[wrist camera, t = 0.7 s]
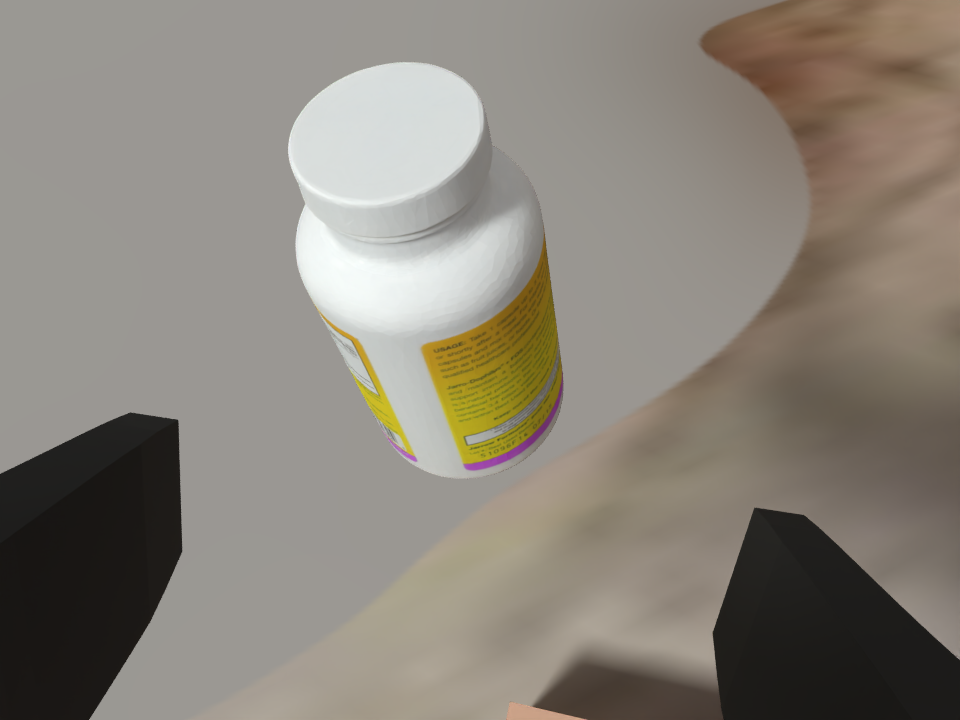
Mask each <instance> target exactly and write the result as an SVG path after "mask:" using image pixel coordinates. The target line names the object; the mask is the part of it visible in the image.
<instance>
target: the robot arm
mask: <svg viewBox="0 0 960 720" xmlns="http://www.w3.org/2000/svg"><path fill="white" fill-rule="evenodd" d="M178 427H179V426H178V420H176V419H169V418H162V417H156V416H149V415H143V414H136V413H128V414H126V415H123V416H120V417H118V418H116V419H113V420H111V421H109V422H106V423H105V424H102V425H100V426H98V427H96V428H94V429H92V430H89V431H87V432H85V433H83V434H81V435H79V436H77V437H75V438H73V439H71V440H69V441H67V442H65V443H63V444H61V445H59V446H57V447H55V448H53V449H51V450H49V451H47V452H45V453H42V454H40V455H38V456H36V457H34V458H32V459H30V460H29V461H26V462H24V463H22V464H20V465H18V466H16V467H14V468H12V469H9V470H7V471H5V472H4V473H1V474H0V720H89V719H90V717H91V716H92V714H93V713H94V711H95V709H96V708H97V706H98V705H99V703H100V702H101V700H102V698H103V697H104V695H105V694H106V692H107V691H108V689H109V687H110V686H111V684H112V683H113V681H114V679H115V678H116V676H117V675H118V673H119V672H120V670H121V668H122V667H123V665H124V663H125V662H126V660H127V659H128V657H129V655H130V654H131V652H132V651H133V649H134V647H135V646H136V644H137V643H138V641H139V639H140V638H141V636H142V634H143V633H144V631H145V629H146V628H147V626H148V624H149V623H150V621H151V619H152V617H153V615H154V612H155V610H156V608H157V606H158V604H159V602H160V600H161V598H162V595H163V594H164V592H165V589H166V587H167V585H168V583H169V580H170V578H171V576H172V574H173V571H174V569H175V566H176V564H177V562H178V560H179V558H180V555H181V553H182V531H181V530H182V528H181V496H180V495H181V494H180V462H179V461H180V460H179V428H178ZM713 641H714V650H715V660H716V669H717V678H718V686H719V693H720V701H721V708H722V713H723V717H724V720H960V660H959V659H958V658H957V657H956V656H955V655H953V654H952V653H951V652H950V651H949V650H948V649H947V648H946V647H945V646H943V645H942V644H941V643H940V642H939V641H938V640H937V639H936V638H935V637H934V636H932V635H931V634H930V633H929V632H928V631H927V630H926V629H925V628H924V627H923V626H922V625H921V624H919V623H918V622H917V621H916V620H915V619H914V618H913V617H912V616H911V615H910V614H909V613H908V612H907V611H906V610H905V609H904V608H902V607H901V606H900V605H899V604H898V603H897V602H896V601H895V600H894V599H893V598H892V597H891V596H890V595H889V594H888V593H887V592H886V591H885V590H884V589H883V588H882V587H881V586H880V585H878V584H877V583H876V582H875V581H874V580H873V579H872V578H871V577H870V576H869V575H868V574H867V573H866V572H865V571H864V570H863V569H862V568H861V567H860V566H859V565H858V564H857V563H856V562H855V561H854V560H853V559H852V558H851V557H850V556H848V555H847V554H846V553H845V552H844V551H843V550H842V549H841V548H840V547H839V546H838V545H837V544H836V543H835V542H834V541H833V540H832V539H831V538H830V537H828V536H827V535H826V534H825V533H824V532H823V531H822V530H821V529H820V528H819V527H817V526H816V525H815V524H814V523H813V522H812V521H810V520H809V519H808V518H807V517H806V516H804V515H800V514H793V513H787V512H780V511H773V510H767V509H760V508H754V511H753V514H752V517H751V520H750V523H749V526H748V529H747V532H746V535H745V538H744V541H743V544H742V547H741V550H740V553H739V556H738V559H737V562H736V565H735V568H734V571H733V574H732V577H731V580H730V583H729V586H728V589H727V592H726V595H725V598H724V601H723V604H722V607H721V610H720V613H719V616H718V619H717V622H716V625H715V628H714V631H713Z"/></svg>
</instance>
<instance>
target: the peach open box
mask: <svg viewBox="0 0 960 720" xmlns="http://www.w3.org/2000/svg"><path fill="white" fill-rule="evenodd" d="M506 720H586V719H582V718H577V717H573V716H569V715H565V714H560V713H556V712H552V711H548V710H543V709H539V708H535V707H531V706H526V705H522V704H518V703H514V702H510V704H509V709H508V713H507V718H506Z"/></svg>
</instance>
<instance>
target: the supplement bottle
mask: <svg viewBox="0 0 960 720" xmlns="http://www.w3.org/2000/svg"><path fill="white" fill-rule="evenodd" d="M288 153H289V154H288V155H289V161H290V165H291V168H292V171H293V173H294V176H295V178H296V180H297V182H298V185H299V187H300V190H301V193H302V196H303V199H304V201H305V203H306V204H305V207H304V209H303V211H302V214H301V216H300V219H299V223H298V227H297V234H296V258H297V264H298V269H299V272H300V275H301V278H302V281H303V283H304V285H305V287H306V289H307V291H308V293H309V295H310V297H311V299H312V301H313V303H314V305H315V307H316V308H317V310H318V312H319V314H320V315H321V318H322V320H323V321H324V323H325V324H326V326H327V328H328V330H329V332H330V334H331V336H332V337H333V340H334V341H335V343H336V345H337V347H338V349H339V350H340V352H341V354H342V356H343V358H344V360H345V362H346V364H347V365H348V368H349V370H350V371H351V373H352V375H353V377H354V379H355V381H356V383H357V385H358V386H359V388H360V391H361V393H362V394H363V396H364V398H365V400H366V402H367V403H368V405H369V407H370V409H371V411H372V413H373V415H374V417H375V418H376V420H377V422H378V424H379V426H380V428H381V429H382V431H383V433H384V434H385V436H386V437H387V439H388V440H389V442H390V443H391V445H392V446H393V447H394V448H395V449H396V450H397V452H398V453H399V454H400V455H402V457H404V458H405V459H406V460H407V461H409V462H410V463H411V464H413V465H415V466H416V467H418V468H420V469H422V470H424V471H427V472H429V473H432V474H435V475H438V476H443V477H448V478H459V479H468V478H469V479H471V478H480V477H485V476H489V475H493V474H496V473H499V472H502V471H504V470H507V469H509V468H510V467H512V466H515V465H516V464H518V463H520V462H521V461H523V460H524V459H525V458H527V457H528V456H529V455H531V453H533V452H534V451H535V450H536V449H537V448H538V447H539V446H540V445H541V444H542V442H543V441H544V440H545V439H546V437H547V436H548V434H549V433H550V432H551V430H552V428H553V426H554V424H555V423H556V420H557V417H558V415H559V412H560V408H561V403H562V398H563V373H562V365H561V357H560V350H559V342H558V334H557V326H556V318H555V311H554V304H553V297H552V289H551V281H550V273H549V266H548V258H547V250H546V241H545V234H544V226H543V220H542V214H541V209H540V205H539V201H538V198H537V195H536V193H535V191H534V189H533V186H532V184H531V182H530V181H529V179H528V177H527V176H526V175H525V173H524V172H523V171H522V169H521V168H520V167H519V166H518V165H517V164H516V163H515V162H514V161H513V160H512V159H511V158H510V157H509V156H508V155H506V154H505V153H504V152H502V151H501V150H500V149H498V148H496V147H495V146H492V142H491V137H490V132H489V126H488V122H487V117H486V113H485V109H484V106H483V103H482V101H481V99H480V97H479V95H478V93H477V92H476V91H475V89H474V88H473V87H472V86H471V85H470V84H469V83H468V82H467V81H466V80H465V79H463V78H462V77H460V76H459V75H457V74H455V73H454V72H451V71H449V70H447V69H444V68H441V67H438V66H435V65H431V64H425V63H415V62H398V63H391V64H384V65H378V66H374V67H370V68H367V69H363V70H360V71H357V72H354V73H352V74H350V75H348V76H346V77H343V78H341V79H339V80H338V81H336V82H334V83H333V84H331V85H330V86H328V87H327V88H326V89H324V90H323V91H321V92H320V93H319V94H318V95H317V96H316V97H314V98H313V99H312V100H311V101H310V102H309V103H308V104H307V105H306V107H305V108H304V109H303V110H302V112H301V113H300V115H299V117H298V118H297V119H296V121H295V124H294V126H293V128H292V131H291V134H290V139H289V146H288Z"/></svg>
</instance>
